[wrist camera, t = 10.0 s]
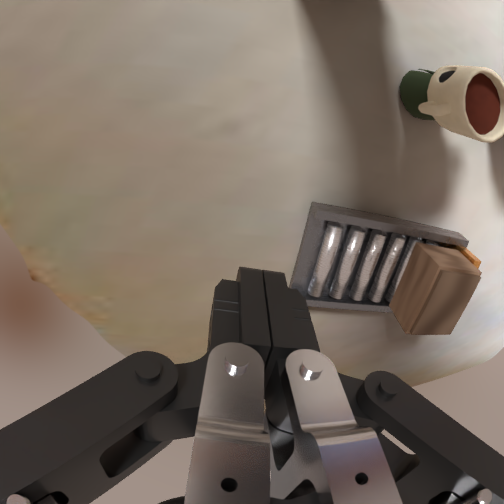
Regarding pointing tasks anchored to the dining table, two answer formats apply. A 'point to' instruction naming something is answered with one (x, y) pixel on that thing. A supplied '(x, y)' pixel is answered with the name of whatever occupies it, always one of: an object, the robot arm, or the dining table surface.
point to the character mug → (458, 100)
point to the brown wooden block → (434, 290)
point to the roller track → (360, 256)
